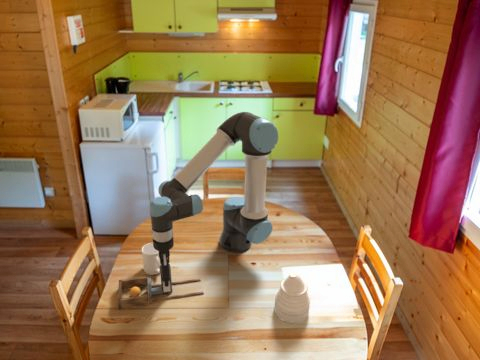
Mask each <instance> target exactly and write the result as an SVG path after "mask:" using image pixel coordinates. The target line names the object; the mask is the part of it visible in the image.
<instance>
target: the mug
mask: <svg viewBox="0 0 480 360" xmlns="http://www.w3.org/2000/svg"><path fill="white" fill-rule="evenodd" d="M141 257H142V265H143V271H144V273H145V274H147V275H151V276H152V275H153V276H154V275H158V274H160V265H161V263H160V257H159V251H157V250H155V249H154V247H153V242H149V243H146V244H144V245H143V246H141Z"/></svg>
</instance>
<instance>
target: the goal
mask: <svg viewBox="0 0 480 360" xmlns="http://www.w3.org/2000/svg"><path fill="white" fill-rule="evenodd" d="M147 278H148V276H139V277H133V278H132V277H131V278H125V279H119V280H118V287H117V288H118V290H117V306H118V310H123V309H130V308H136V307H143V306H144V307H145V306H149V305H150V302H149V299H150V297H149V295H148V294H145V295H139V296H137V297H132V296H130V297H124V298H123V290H130V289H131V288H133V287H138V288H141V287H142V288H143V287H148V280H147Z"/></svg>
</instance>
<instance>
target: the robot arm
mask: <svg viewBox="0 0 480 360" xmlns="http://www.w3.org/2000/svg"><path fill="white" fill-rule="evenodd" d="M278 141H279V131H278V128H277V126H276V125H275V124H274V123H273V122H272V121H270V120H268V119H267V118H263V117H261V116H258V115H256V114H254V113H251V112H248V111H240V112H237V113H236V114H233V115H232V116H229V118H226V119H225V121H223V122H222V123H221V124H220V125H219V126H218V127H217V128H216V133H215V134H214V135H213V136H212V137H211V138H210V139H209V140H208V142H207V143H205V145H203V147H202V148H201V149H200V150H199V151H198V152H197V153H196V154H195V155H194V156H193V157H192V158H191V159H190V160H189V161H188V162H187V163H186V164H185V166H184V167H183V168H182V169H181V170H180V171H178V173H177V174H176V175H175V176H174V177H173V178H172V179H171V180H164V181H163V182H161V183H160V184H159V186H158V189H157V190H158V194H159V196H156V197H153V199H151V200H150V202H149V216H150V223H151V230H150V231H149V232H150V234H152V243H153V247H154V249H155V250H157V251H159V257H160V263H161V264H162V273H163V278H161V277H160V281H161V280H163V291H164V292H170V291H171V289H170V276H169V264H170V261H171V260H170V256H171V254H170V250H171V249H172V248H174V245H175V244H174V242H175V241H174V240H175V239H174V225H173V223H174V222H176V221H180V220H184V219H186V218H190V217H194V216H196V215H199V214H201V213H202V212H203V208H204V204H203V199H202V198H201V197H200V195H199V194H190V195H188V194H187V193H188V191H189V190H190V189H191V188H192V187H193V186H194V184H195V183H196V182H198V180H199V179H200V178H201V177H202V176H203V175H204V174H205V173H206V172H207V171H208V169H210V168H211V167H212V166H213V165H214V163H216V162H217V160H218V159H219V158H221V156H222V155H223V154H224V153H225V152H226V151H227V150H228V149H229V147H233V146H235V145H236V144H237V143H238V142H241V152H242V153H243V155H245V160H244V161H245V168H244V197H242V196H233V197H229V198H227V199H225V201H224V202H223V206H222V218H223V220H222V221H223V222H222V223H223V224H222V226H223V227H222V231H221V233H220V237H219V246H220V248H221V249H223V250H224V251H226V252H229V253H241V252H245V251H247V250H249V249H250V248H251V246H252V244H253V245H258V244H261V243H263V242H265V241H266V240H267V239H268V238H269V237H270V236H271V234H272V231H273V229H274V228H273V224H272V222H271V221H270V220H269V217H268V216H269V210H268V209H267V207H265V205H266V187H267V170H268V169H267V168H268V167H267V165H268V156H270V155H271V153H272V150H274V149H275V147H276V145H277V144H278Z"/></svg>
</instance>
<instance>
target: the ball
mask: <svg viewBox="0 0 480 360" xmlns="http://www.w3.org/2000/svg"><path fill="white" fill-rule="evenodd" d="M141 293H142V292H141V288H140V287H133V288H130V289H129V295H130V297H137V296H141Z"/></svg>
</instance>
